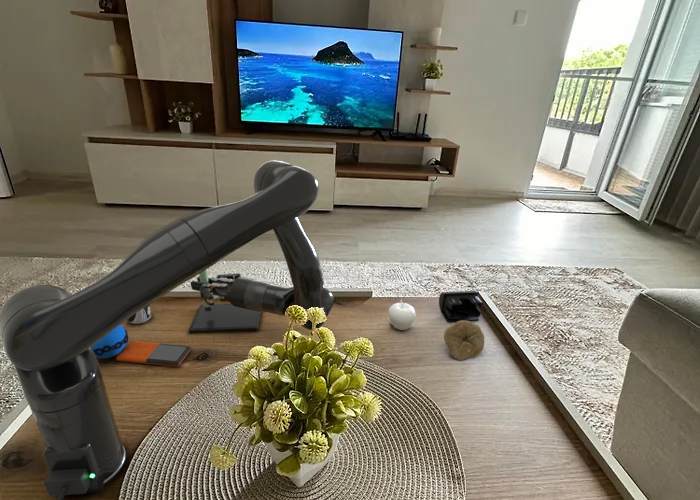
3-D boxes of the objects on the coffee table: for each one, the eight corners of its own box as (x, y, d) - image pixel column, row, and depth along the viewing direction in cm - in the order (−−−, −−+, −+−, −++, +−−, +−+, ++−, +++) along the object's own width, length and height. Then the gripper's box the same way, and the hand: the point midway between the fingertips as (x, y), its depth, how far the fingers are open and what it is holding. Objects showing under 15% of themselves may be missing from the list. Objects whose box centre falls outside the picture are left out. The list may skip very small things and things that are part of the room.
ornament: (82, 368, 87) (70, 331, 83) (97, 344, 95) (87, 309, 91) (124, 365, 89) (115, 328, 85) (136, 341, 97) (127, 306, 93)
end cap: (470, 307, 115) (473, 286, 112) (480, 320, 109) (485, 299, 106) (437, 308, 114) (440, 288, 111) (446, 323, 107) (449, 301, 104)
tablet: (257, 331, 102) (257, 327, 101) (189, 333, 100) (188, 329, 100) (262, 305, 113) (262, 302, 112) (201, 307, 111) (200, 304, 111)
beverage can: (148, 324, 103) (139, 284, 98) (124, 326, 102) (114, 285, 97) (154, 312, 108) (146, 273, 103) (132, 314, 107) (122, 274, 102)
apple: (393, 315, 110) (395, 290, 106) (417, 323, 107) (420, 297, 103) (383, 328, 104) (385, 302, 101) (408, 337, 101) (411, 310, 98)
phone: (131, 339, 95) (191, 345, 94) (133, 344, 96) (192, 349, 94) (114, 357, 89) (177, 363, 88) (115, 361, 90) (178, 368, 88)
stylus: (211, 311, 104) (205, 267, 99) (203, 311, 104) (196, 267, 98) (213, 307, 106) (207, 263, 100) (205, 307, 106) (199, 263, 100)
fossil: (439, 328, 95) (474, 314, 97) (434, 332, 99) (468, 318, 101) (456, 364, 92) (492, 348, 94) (450, 366, 96) (485, 351, 98)
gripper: (266, 269, 102) (209, 258, 107) (236, 295, 90) (173, 281, 95) (268, 294, 105) (213, 283, 110) (239, 322, 93) (178, 308, 98)
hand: (195, 282), depth 102 cm, fingers closed on stylus, 2 cm apart
